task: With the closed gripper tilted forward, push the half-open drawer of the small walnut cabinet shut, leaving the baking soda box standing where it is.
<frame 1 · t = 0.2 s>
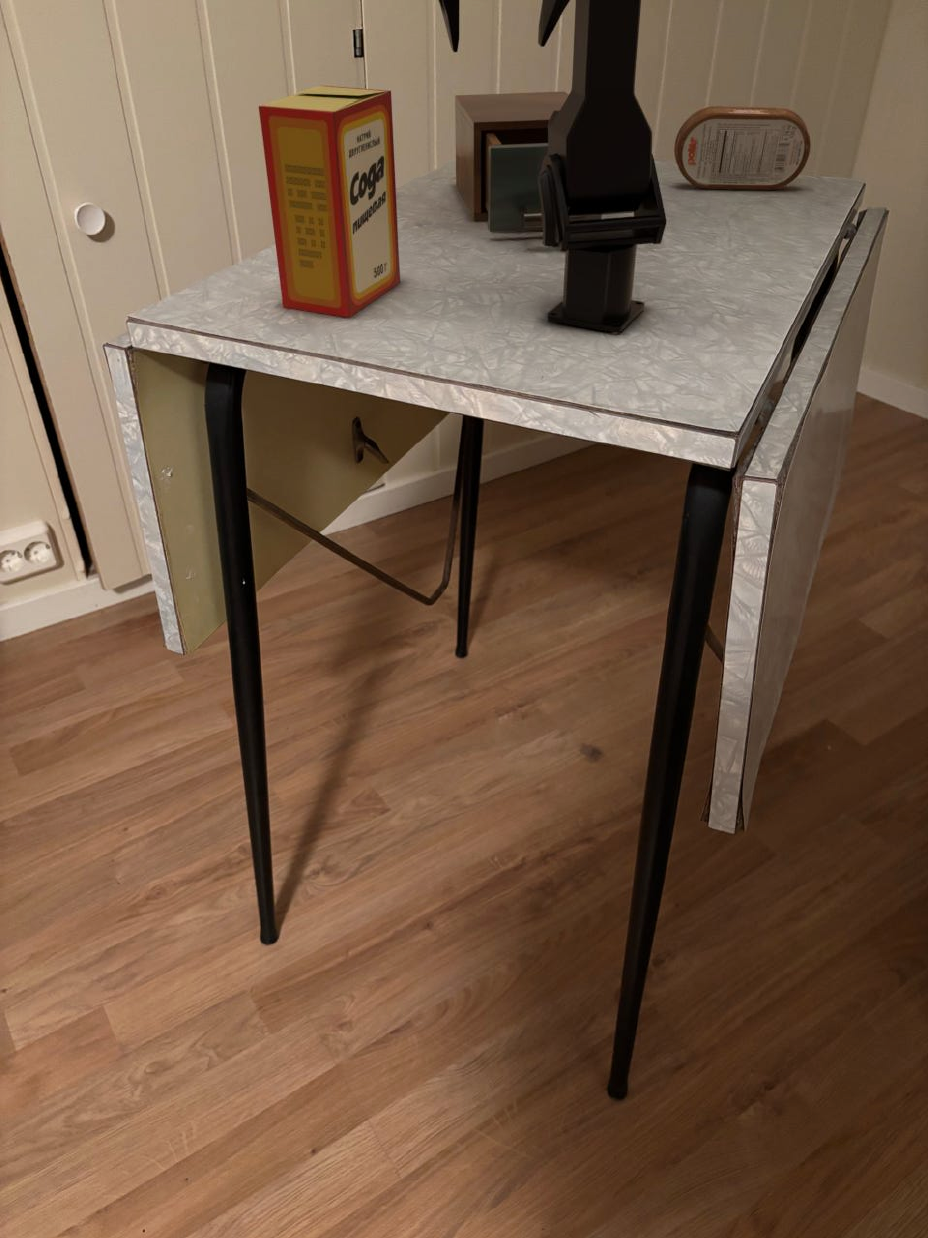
hand: (498, 47, 99), 15 cm above the table, tool pointing down, fingers open, 9 cm apart
cabinet: (519, 200, 111), on the table
drawer: (538, 176, 100), point 5 cm above the table, slide at 6.0 cm
baking soda box: (343, 296, 87), on the table
tin: (735, 189, 114), on the table
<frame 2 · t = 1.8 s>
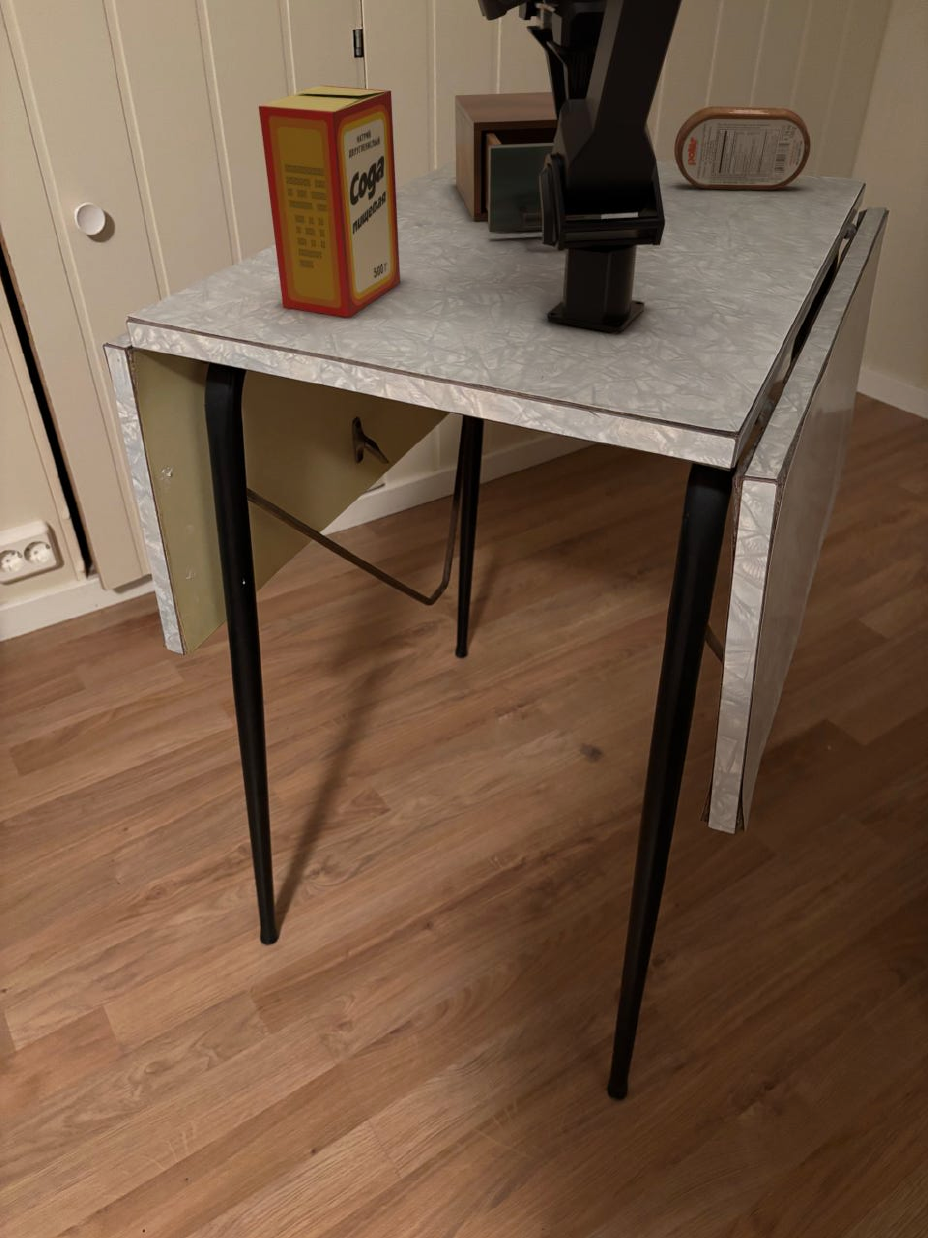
hand: (569, 126, 85), 12 cm above the table, tool pointing down, fingers open, 5 cm apart
nothing on the table moved.
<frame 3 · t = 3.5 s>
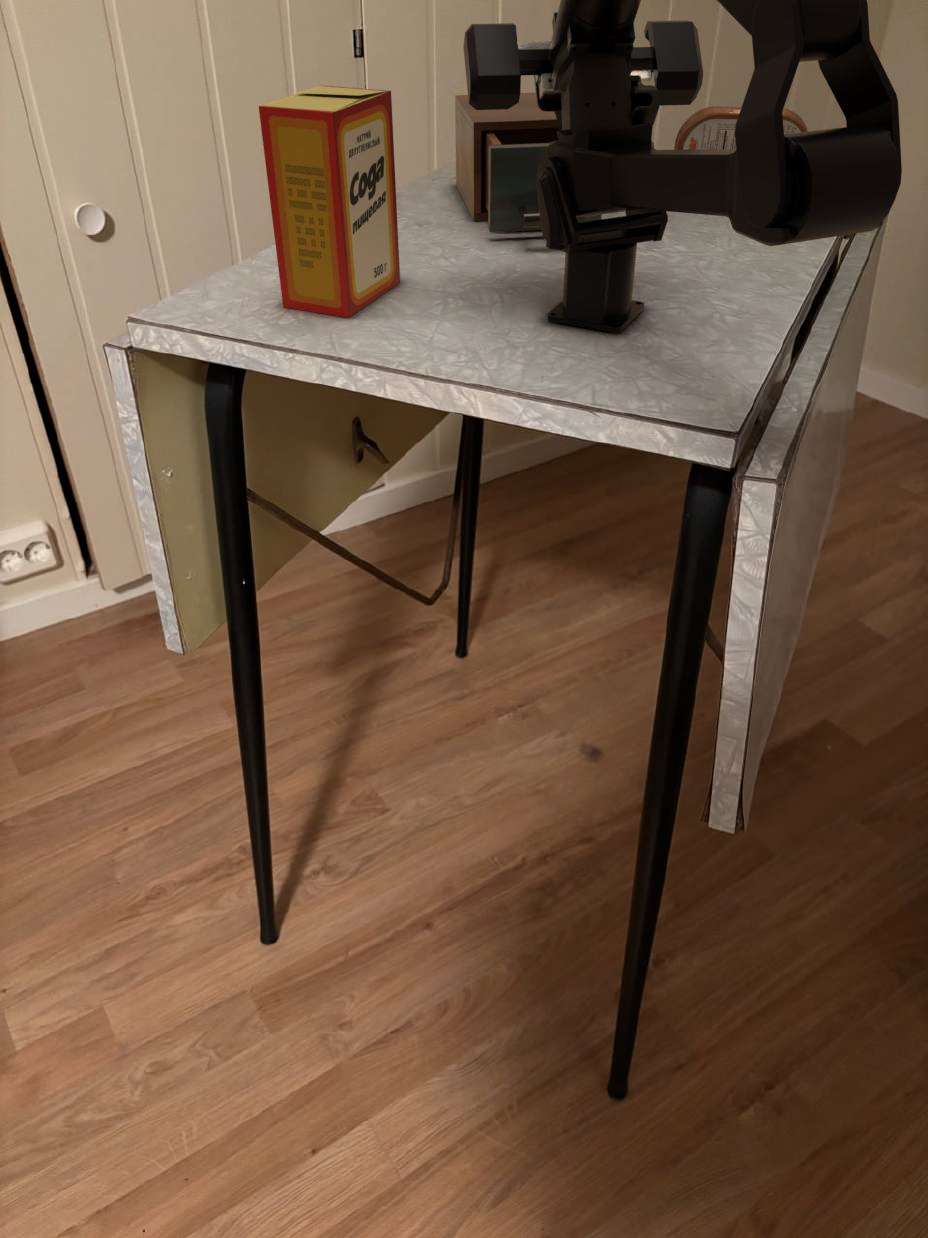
hand: (564, 131, 87), 11 cm above the table, tool tilted 45°, fingers closed
nothing on the table moved.
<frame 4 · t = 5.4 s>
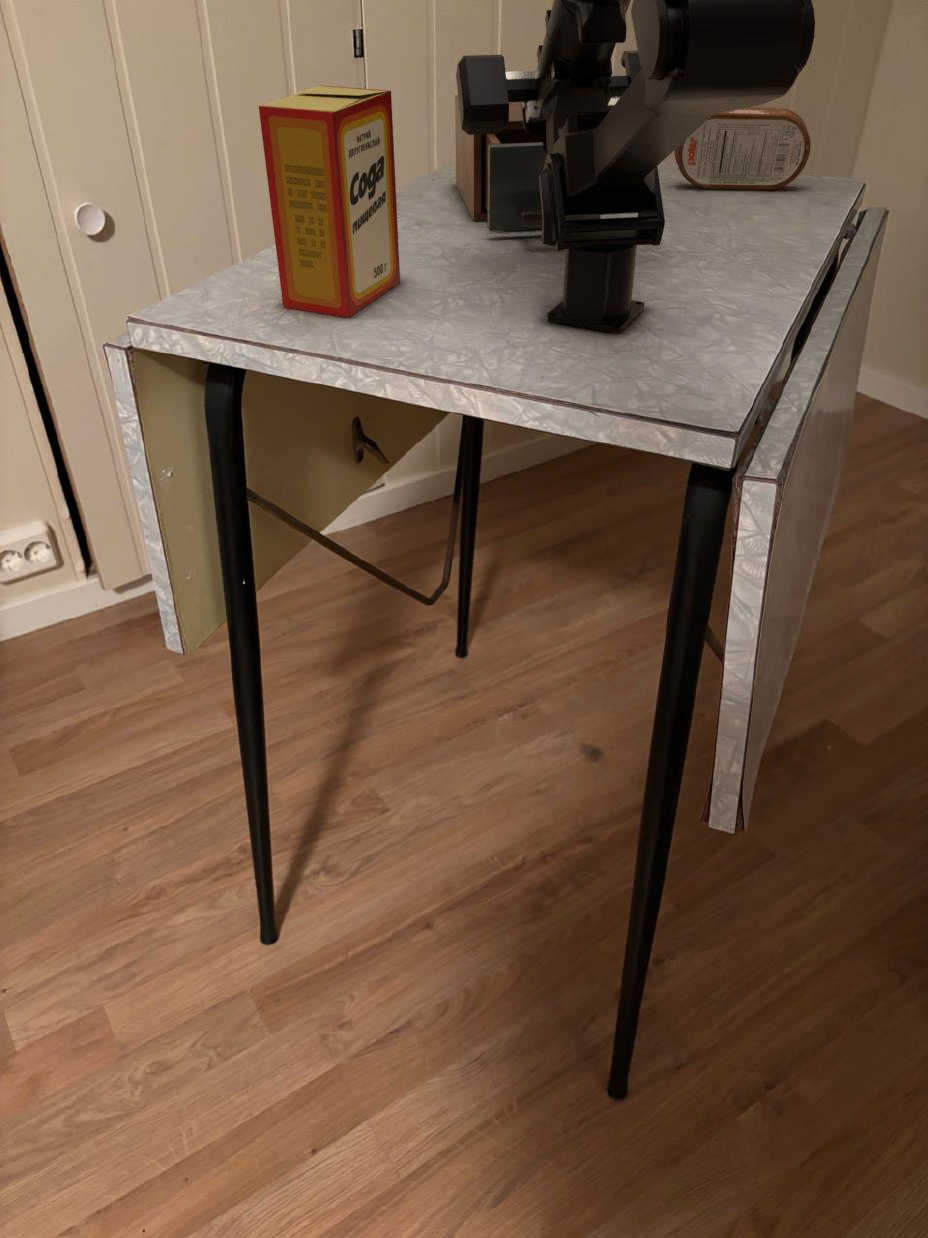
hand: (548, 148, 94), 8 cm above the table, tool tilted 45°, fingers closed, pressing on drawer
drawer: (537, 175, 101), point 5 cm above the table, slide at 5.6 cm, touching gripper
everything else where it was.
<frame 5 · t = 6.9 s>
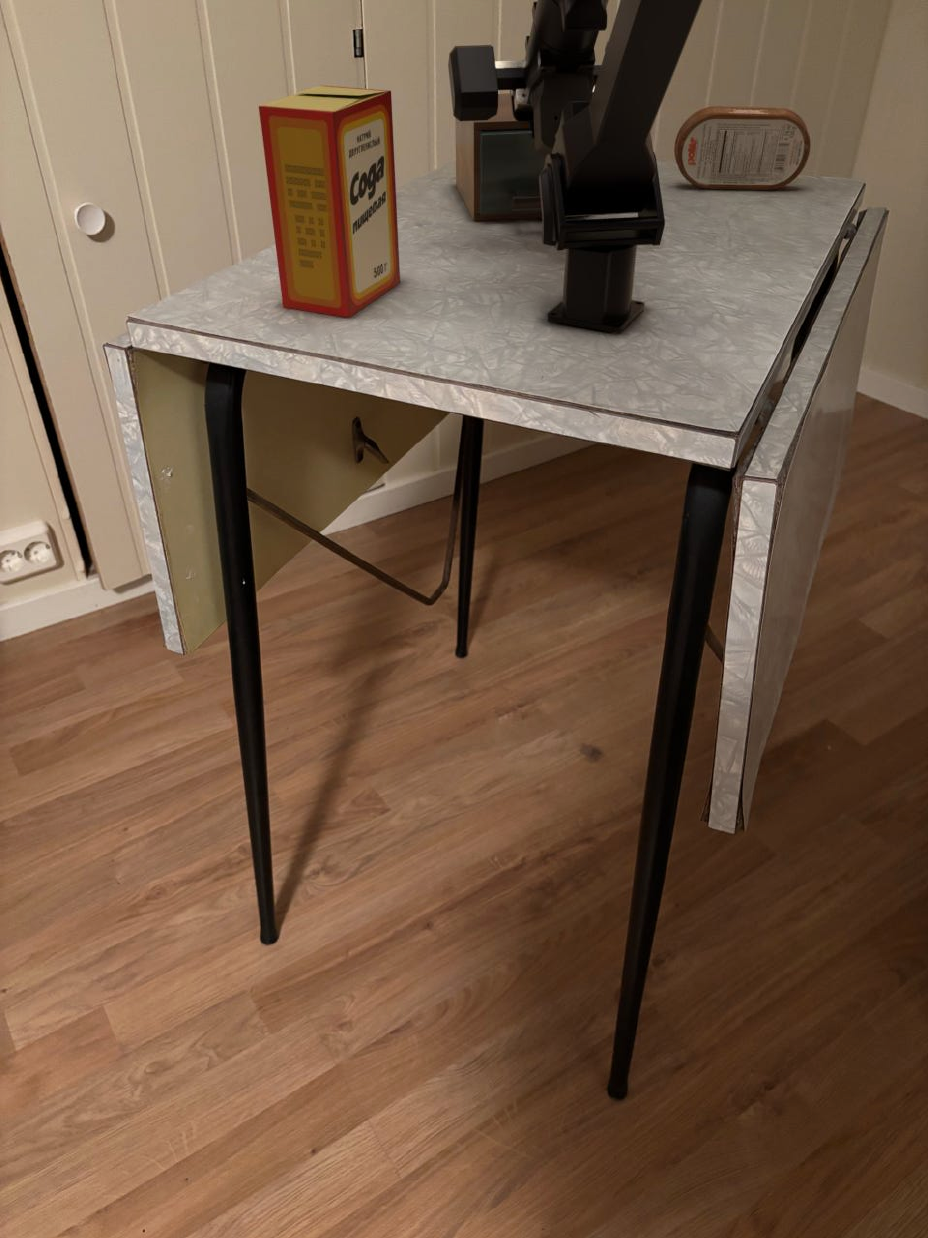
hand: (537, 135, 99), 8 cm above the table, tool tilted 45°, fingers closed, pressing on drawer
drawer: (527, 162, 105), point 5 cm above the table, slide at 0.0 cm, touching cabinet, gripper
everything else where it was.
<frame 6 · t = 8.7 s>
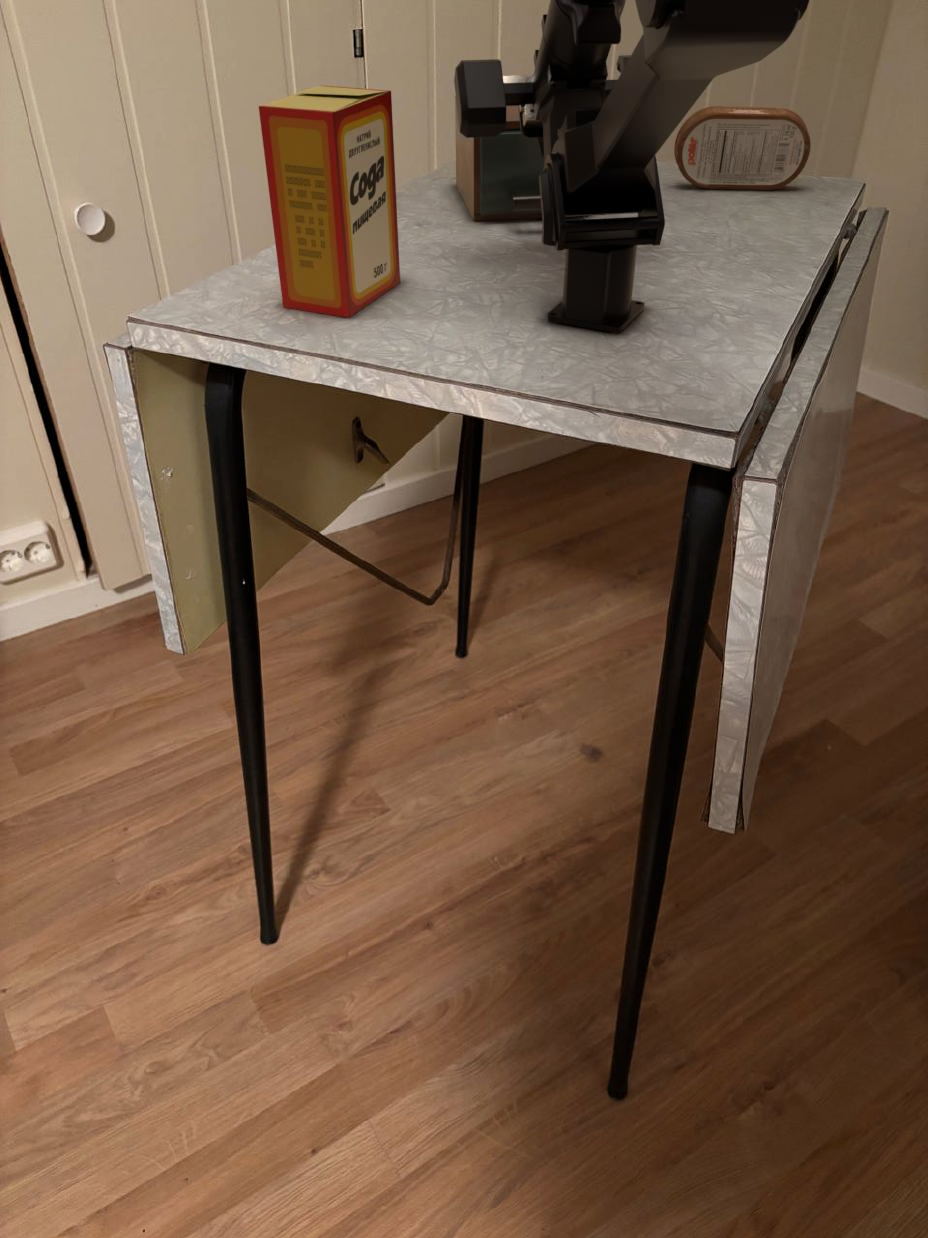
hand: (545, 152, 96), 8 cm above the table, tool tilted 45°, fingers closed
drawer: (527, 162, 105), point 5 cm above the table, slide at 0.0 cm, touching cabinet
everything else where it was.
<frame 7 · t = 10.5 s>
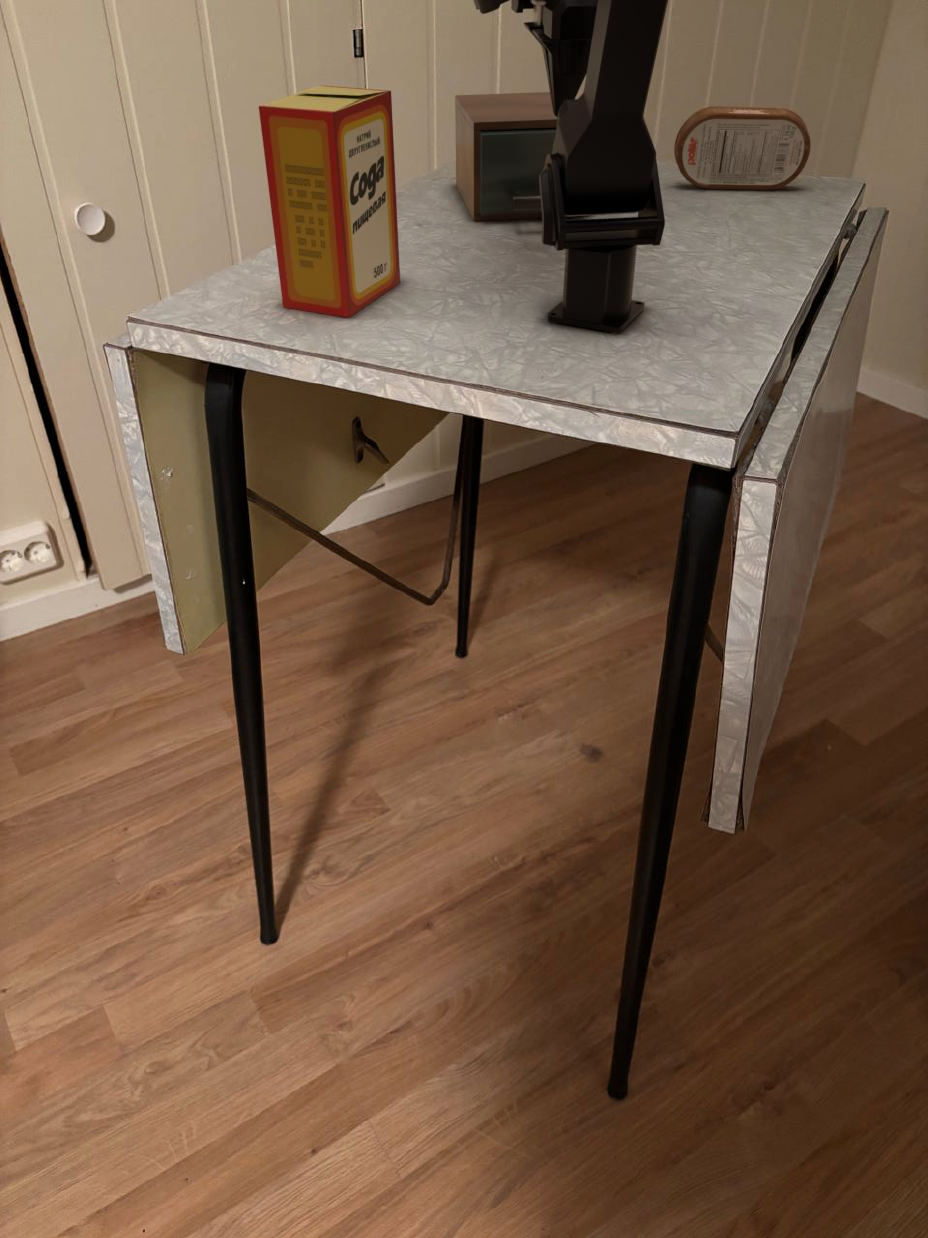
hand: (560, 115, 89), 12 cm above the table, tool pointing down, fingers closed
nothing on the table moved.
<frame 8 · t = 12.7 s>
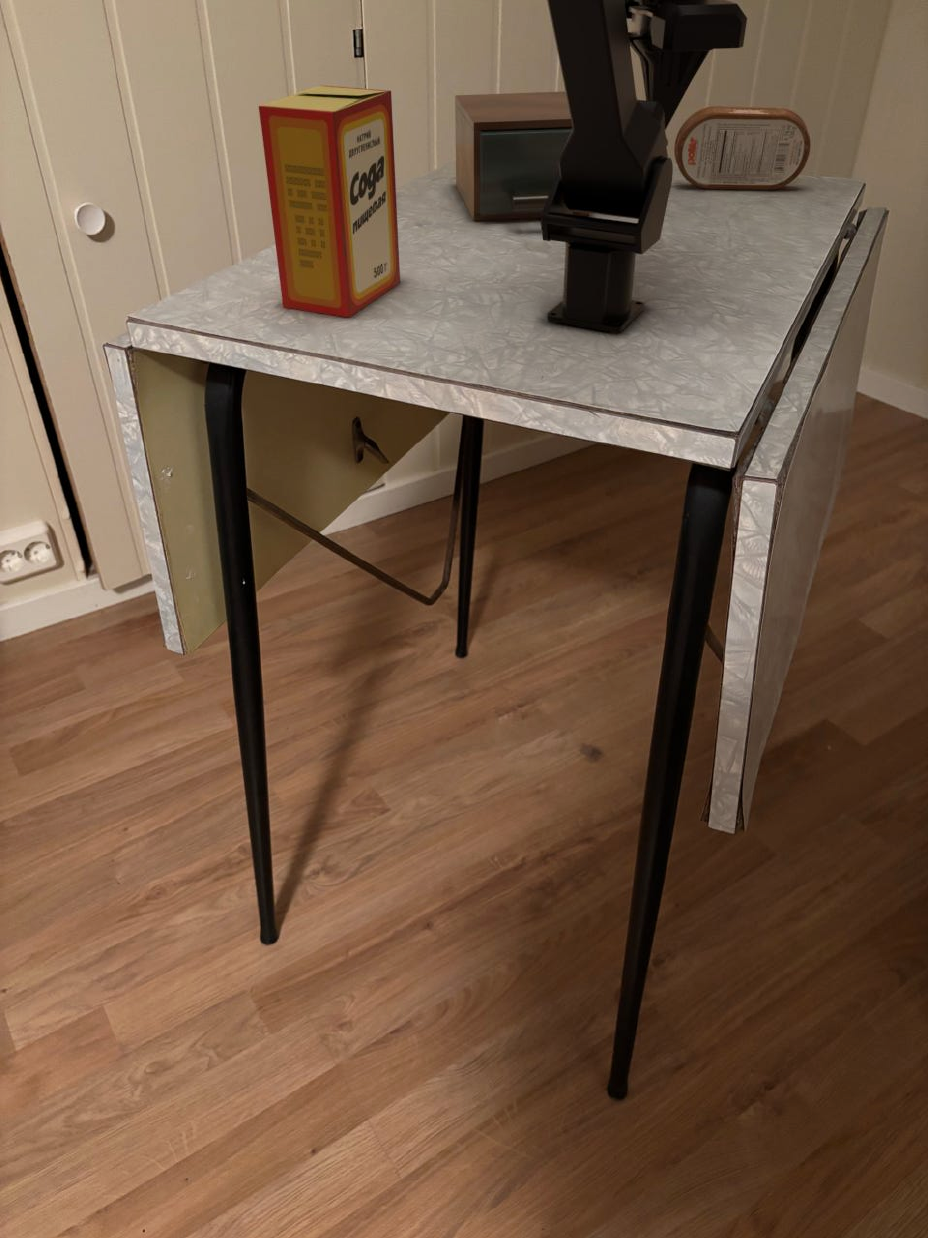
hand: (657, 131, 84), 12 cm above the table, tool pointing down, fingers closed
nothing on the table moved.
at the end: drawer slide at 0.0 cm; baking soda box moved 0.2 cm from its start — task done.
